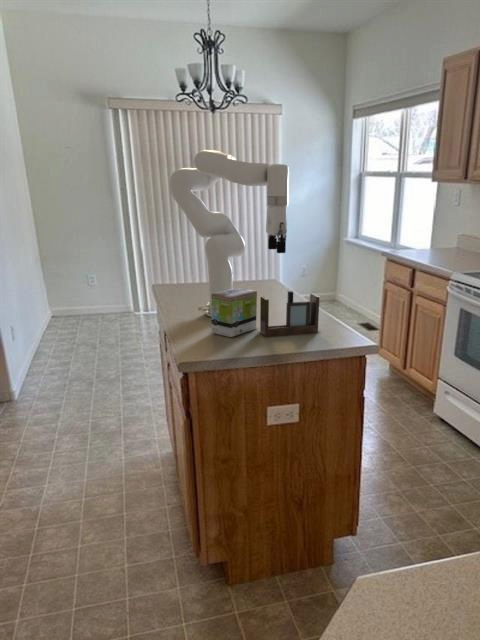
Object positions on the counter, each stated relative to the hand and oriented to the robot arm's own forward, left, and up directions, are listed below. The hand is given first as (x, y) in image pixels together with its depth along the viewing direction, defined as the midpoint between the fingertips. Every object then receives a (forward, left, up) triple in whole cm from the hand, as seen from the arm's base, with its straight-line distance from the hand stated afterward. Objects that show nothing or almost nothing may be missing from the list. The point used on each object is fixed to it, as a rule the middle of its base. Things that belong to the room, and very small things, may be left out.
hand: (276, 251), depth 195 cm
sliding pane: (+5, -12, -27) cm, 29 cm away
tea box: (-17, -3, -28) cm, 33 cm away
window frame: (+2, -10, -28) cm, 30 cm away
